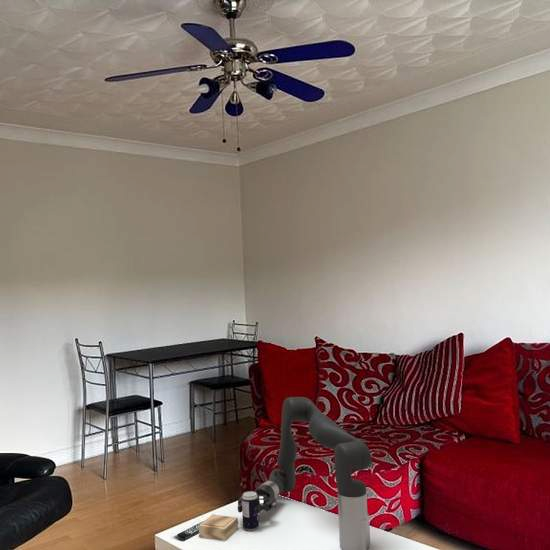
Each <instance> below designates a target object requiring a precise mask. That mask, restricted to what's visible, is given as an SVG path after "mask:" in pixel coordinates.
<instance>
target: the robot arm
mask: <svg viewBox="0 0 550 550" xmlns="http://www.w3.org/2000/svg"><path fill="white" fill-rule="evenodd" d="M293 422H307V423H308V433H309V435H310V436H311V437H312V439H314V441H316V442H317V443H318V445H321V446H323V447H324V448H327V449H329V450H334V451H333V452H334V453H333V460H334V462H333V463H334V469H335V471H334V472H335V483H336V486H337V509H338V510H337V511H338V534H339V548H340V549H341V550H368V549H369V547H370V545H371V535H370V533H371V532H370V528H371V527H370V514H369V513H368V502H367V501H368V499H367V485H366V483H365V482H364V481H362V480H360V479H357V478H353V476H352V473H354V472H361V471H364V470H366V469H368V468H369V467H370V466H371V464H372V460H373V457H372V453H371V451H370V449H369V447H368V446H367V445H366V443H365V442H363V441H362V440H361V439H359V438H357V437H355V436H354V435H352V434H351V433H348V431H346V430H345V429H343V428H342V427H340V426H339V425H338V424H337V423H336V422H334V421H333V420H332V419H331V418H330V417H328V416H327V415H326V414H325V413H324V412H322V411H321V410H320V409H319V408H318V407H317V406H316V404H315V403H314V402H313V401H312V400H311V399H310V398H308V397H304V396H290V397H287V398H285V400H284V401H283V403H282V409H281V424H280V425H281V427H280V445H279V449H278V454H277V460H276V464H277V467H279V468H274V469H273V470H272V471H271V472H270V475H269V478H268V480H267V481H265V482H263V483H262V484H260V485H259V486H258V487H257V488H255V490H254V491H253V492H256V493H257V496H258V506H256V507H255V508H254V514H256V515H257V514H258V515H259V514H260V513H261V512H264V511H265V512H269V511H271V510H272V509H275V507H277V502H276V500H277V498H278V497H279V496H281V494H282V493H283V492H286V493H290V492H291V491H293V490H294V488H295V486H296V473H295V462H296V458H297V452H298V447H297V442H296V441H295V438H294V436H293V433H292V423H293ZM242 496H243V494H242V495H240V497H239V499H237V512H238V513H242Z"/></svg>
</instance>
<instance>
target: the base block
mask: <svg viewBox="0 0 550 550" xmlns="http://www.w3.org/2000/svg"><path fill="white" fill-rule="evenodd" d="M238 530H239V517H236V516H229V515H221V514H211V515H210V516H209V517H208V518H206V519H205V520H203V521H202V522H201V523H200V524H198V537H199V538H202V537H204V539H210V540H215V541H216V540H217V541H223V542H225V541H227V540H228V539H229V538H230V537H231V536H232V535H234V534H235V533H236V531H238Z"/></svg>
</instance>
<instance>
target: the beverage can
mask: <svg viewBox="0 0 550 550" xmlns="http://www.w3.org/2000/svg"><path fill="white" fill-rule="evenodd" d="M242 495H243V496H242ZM242 495H241V496H242V512H241V513H242V516H241V517H242V528H243V529H245V530H246V531H250V532H252V531H255V530H257V528H259V525H260V521H259V519H260V518H259V517H260V516H259V513H258V514H257V515H256V514H254V508H255V507H256V506H258V496H257V493H256V492H254V491H245V492H243V493H242Z"/></svg>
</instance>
